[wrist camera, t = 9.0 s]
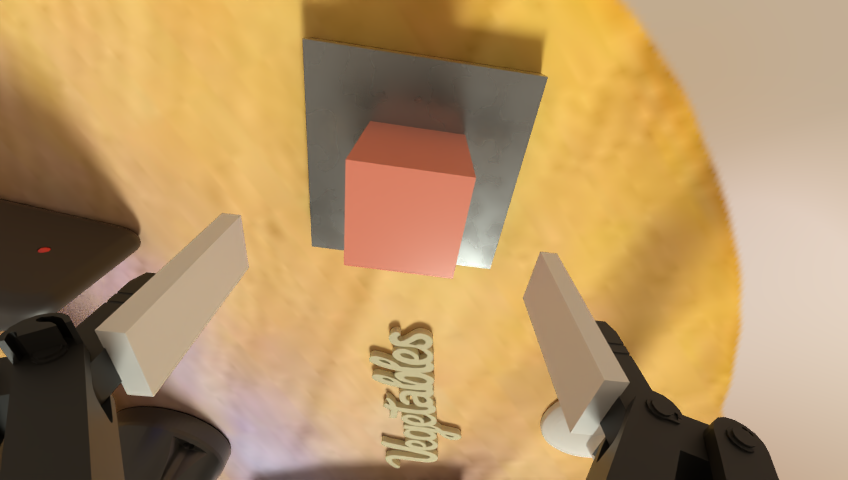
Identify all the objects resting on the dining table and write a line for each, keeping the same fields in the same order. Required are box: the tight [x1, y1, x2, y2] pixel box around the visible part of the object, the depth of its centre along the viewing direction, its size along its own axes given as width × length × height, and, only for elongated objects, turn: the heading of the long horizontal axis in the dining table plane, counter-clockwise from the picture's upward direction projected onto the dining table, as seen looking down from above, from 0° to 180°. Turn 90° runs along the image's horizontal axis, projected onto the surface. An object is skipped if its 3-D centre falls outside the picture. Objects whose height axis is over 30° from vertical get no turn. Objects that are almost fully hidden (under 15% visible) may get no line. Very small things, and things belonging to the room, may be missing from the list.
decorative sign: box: [369, 327, 461, 468], centre depth 40 cm, size 26×1×10 cm
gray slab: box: [303, 37, 548, 269], centre depth 22 cm, size 14×14×6 cm
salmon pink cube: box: [344, 121, 476, 279], centre depth 20 cm, size 6×6×7 cm
